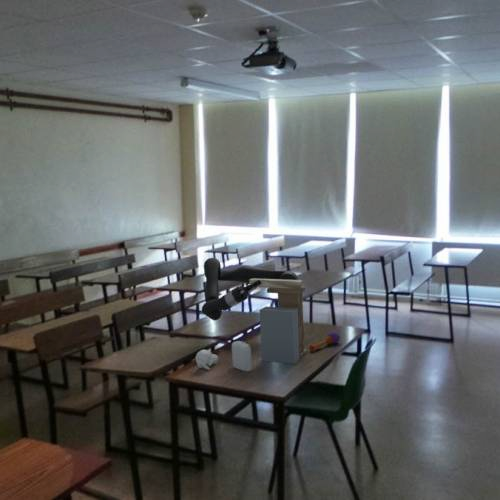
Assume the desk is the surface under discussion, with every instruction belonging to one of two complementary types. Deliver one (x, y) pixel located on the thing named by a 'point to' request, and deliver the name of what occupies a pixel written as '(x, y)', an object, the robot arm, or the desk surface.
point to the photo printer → (241, 356)
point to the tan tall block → (292, 300)
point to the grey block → (279, 334)
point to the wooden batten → (279, 283)
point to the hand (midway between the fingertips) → (262, 280)
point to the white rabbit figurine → (205, 359)
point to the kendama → (326, 341)
